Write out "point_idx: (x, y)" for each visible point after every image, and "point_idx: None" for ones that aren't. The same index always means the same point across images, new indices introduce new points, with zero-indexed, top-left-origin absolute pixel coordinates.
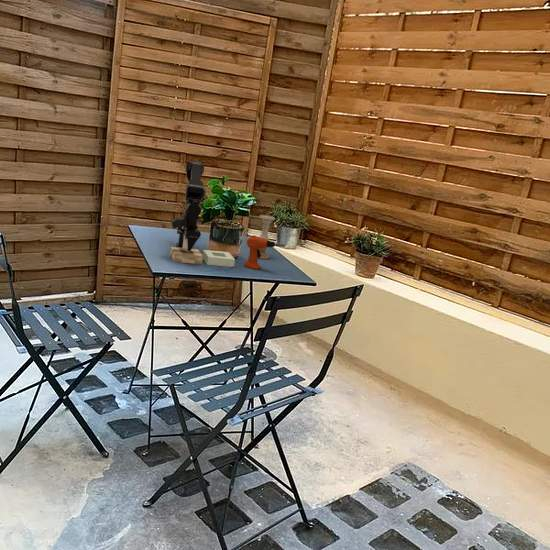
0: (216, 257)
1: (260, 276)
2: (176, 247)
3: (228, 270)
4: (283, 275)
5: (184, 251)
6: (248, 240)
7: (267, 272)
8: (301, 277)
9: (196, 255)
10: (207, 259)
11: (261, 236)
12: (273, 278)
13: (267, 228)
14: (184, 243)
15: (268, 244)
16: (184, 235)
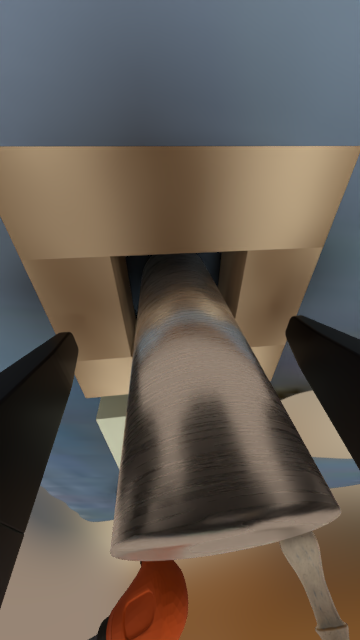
0: (111, 443)
1: (55, 483)
2: (317, 225)
3: (62, 433)
4: (108, 503)
5: (145, 293)
6: (157, 616)
7: (116, 489)
8: (113, 516)
9: (84, 368)
10: (113, 399)
11: (306, 568)
12: (58, 496)
13: (317, 625)
14: (152, 338)
15: (104, 633)
16: (210, 472)
